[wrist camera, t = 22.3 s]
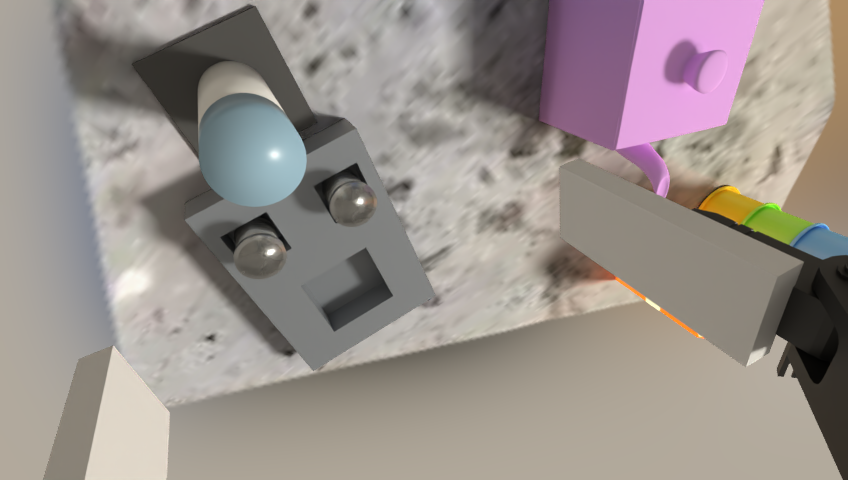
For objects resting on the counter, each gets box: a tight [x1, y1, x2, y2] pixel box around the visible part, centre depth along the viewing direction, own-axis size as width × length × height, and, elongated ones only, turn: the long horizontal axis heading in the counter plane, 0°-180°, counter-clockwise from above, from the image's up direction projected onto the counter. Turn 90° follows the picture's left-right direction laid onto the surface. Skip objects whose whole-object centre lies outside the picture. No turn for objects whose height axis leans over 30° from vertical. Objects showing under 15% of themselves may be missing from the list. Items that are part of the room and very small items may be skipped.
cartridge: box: [198, 61, 307, 207], centre depth 30 cm, size 5×5×16 cm
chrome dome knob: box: [234, 217, 287, 279], centre depth 40 cm, size 4×4×4 cm
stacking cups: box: [698, 186, 848, 260], centre depth 61 cm, size 10×10×35 cm
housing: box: [184, 119, 435, 371], centre depth 46 cm, size 22×16×4 cm
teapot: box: [539, 0, 764, 198], centre depth 45 cm, size 15×25×14 cm, turn 3°
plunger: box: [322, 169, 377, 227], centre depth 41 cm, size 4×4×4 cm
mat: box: [132, 6, 317, 154], centre depth 37 cm, size 10×10×1 cm
